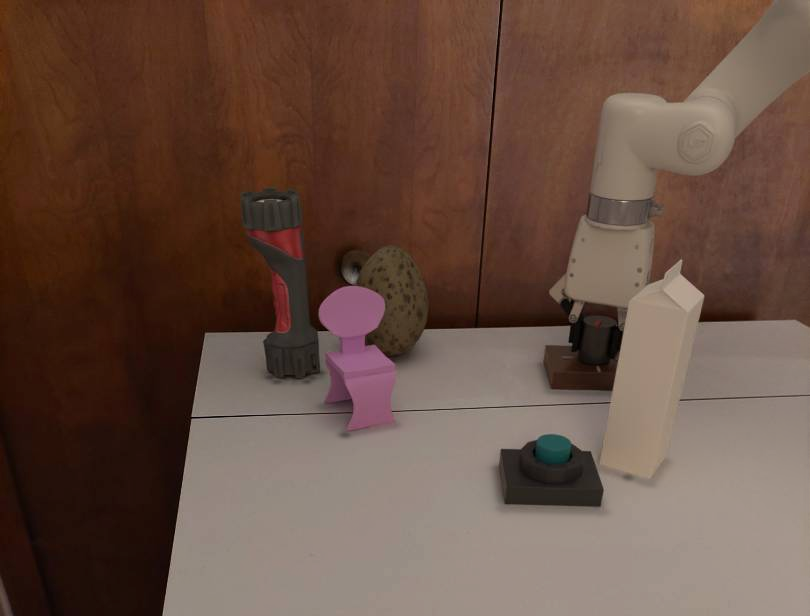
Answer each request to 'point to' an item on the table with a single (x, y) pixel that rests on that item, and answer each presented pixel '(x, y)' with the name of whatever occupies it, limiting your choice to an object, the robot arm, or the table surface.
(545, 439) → the teal push button
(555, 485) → the push button base
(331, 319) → the toy chair
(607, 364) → the dial panel
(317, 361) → the flashlight
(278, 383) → the table surface
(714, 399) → the table surface
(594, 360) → the dial
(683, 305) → the milk
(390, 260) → the decorative egg
